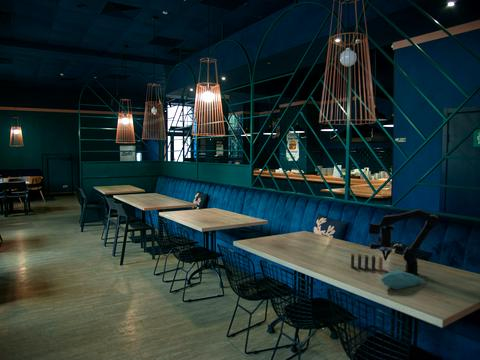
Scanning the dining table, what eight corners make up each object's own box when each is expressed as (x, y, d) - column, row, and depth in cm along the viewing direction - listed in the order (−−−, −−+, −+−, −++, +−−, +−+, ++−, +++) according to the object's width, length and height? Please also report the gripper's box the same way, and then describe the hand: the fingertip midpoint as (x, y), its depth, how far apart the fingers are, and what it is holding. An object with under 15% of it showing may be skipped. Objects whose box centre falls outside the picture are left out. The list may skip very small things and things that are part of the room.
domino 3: (367, 267, 232) (367, 255, 232) (367, 269, 227) (368, 257, 227) (364, 267, 232) (365, 254, 232) (365, 269, 228) (365, 256, 227)
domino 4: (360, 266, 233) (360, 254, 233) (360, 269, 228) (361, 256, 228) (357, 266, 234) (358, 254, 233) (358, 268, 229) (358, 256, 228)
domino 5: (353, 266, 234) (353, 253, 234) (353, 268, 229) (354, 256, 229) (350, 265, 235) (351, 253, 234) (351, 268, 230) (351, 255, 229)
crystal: (427, 292, 204) (435, 278, 200) (382, 292, 190) (390, 277, 186) (414, 280, 212) (422, 267, 209) (370, 280, 198) (378, 265, 194)
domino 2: (374, 267, 231) (374, 255, 230) (374, 270, 226) (375, 257, 226) (371, 267, 231) (371, 255, 231) (372, 270, 227) (372, 257, 226)
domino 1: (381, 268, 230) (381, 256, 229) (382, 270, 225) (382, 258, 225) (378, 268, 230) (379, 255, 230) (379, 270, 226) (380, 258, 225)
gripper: (400, 234, 231) (398, 258, 232) (369, 232, 236) (368, 255, 237) (403, 238, 220) (402, 263, 222) (371, 235, 225) (369, 260, 226)
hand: (385, 260), depth 227 cm, fingers closed
